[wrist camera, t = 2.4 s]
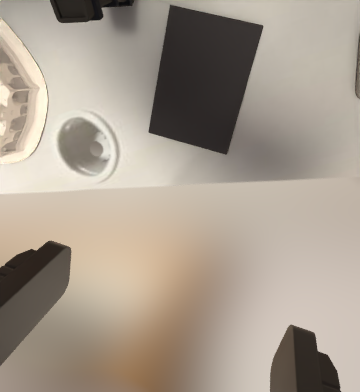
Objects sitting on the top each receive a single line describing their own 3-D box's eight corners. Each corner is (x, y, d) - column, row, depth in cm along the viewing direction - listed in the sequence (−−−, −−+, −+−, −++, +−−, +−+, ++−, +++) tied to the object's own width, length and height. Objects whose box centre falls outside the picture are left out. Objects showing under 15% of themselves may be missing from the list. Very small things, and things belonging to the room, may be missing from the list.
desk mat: (149, 131, 42) (148, 132, 41) (171, 5, 35) (170, 5, 35) (226, 153, 40) (226, 154, 40) (263, 25, 34) (263, 25, 34)
